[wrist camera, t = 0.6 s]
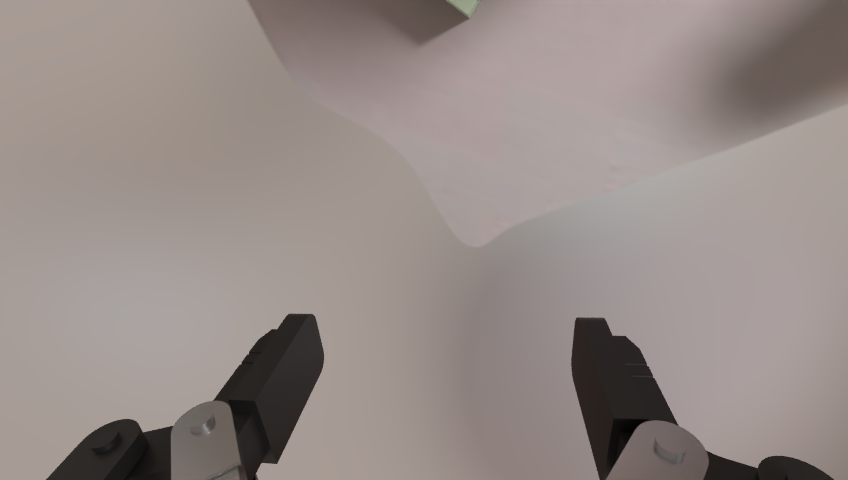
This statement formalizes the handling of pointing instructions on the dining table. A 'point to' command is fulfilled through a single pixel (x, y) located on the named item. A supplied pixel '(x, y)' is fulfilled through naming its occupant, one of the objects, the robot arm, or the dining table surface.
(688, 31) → the dining table surface
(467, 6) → the sage brick
